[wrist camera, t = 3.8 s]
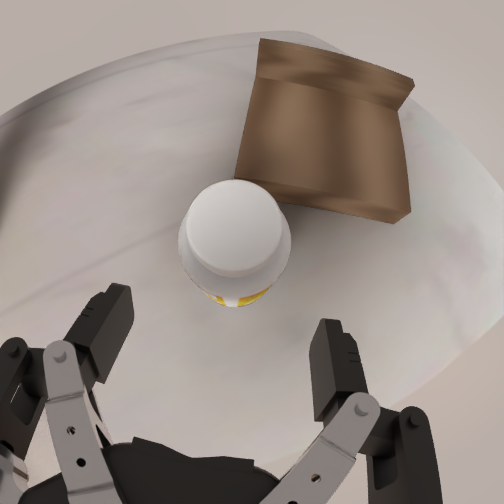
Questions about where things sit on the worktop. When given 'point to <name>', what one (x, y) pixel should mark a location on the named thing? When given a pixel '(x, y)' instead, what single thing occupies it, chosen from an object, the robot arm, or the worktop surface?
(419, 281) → the worktop surface
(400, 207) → the walnut shelf step
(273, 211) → the supplement bottle
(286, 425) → the worktop surface
